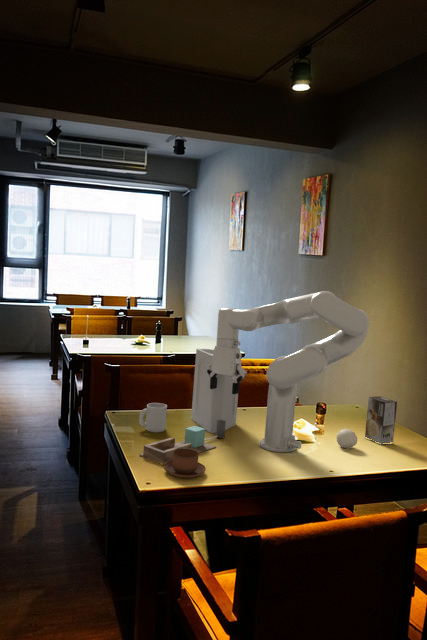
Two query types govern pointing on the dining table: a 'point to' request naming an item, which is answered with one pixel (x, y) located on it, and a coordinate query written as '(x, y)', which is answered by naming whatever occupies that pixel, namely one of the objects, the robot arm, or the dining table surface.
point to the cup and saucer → (185, 464)
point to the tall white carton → (212, 396)
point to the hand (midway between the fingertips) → (224, 391)
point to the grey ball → (346, 438)
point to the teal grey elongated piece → (203, 434)
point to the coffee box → (380, 419)
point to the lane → (169, 450)
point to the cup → (154, 417)
